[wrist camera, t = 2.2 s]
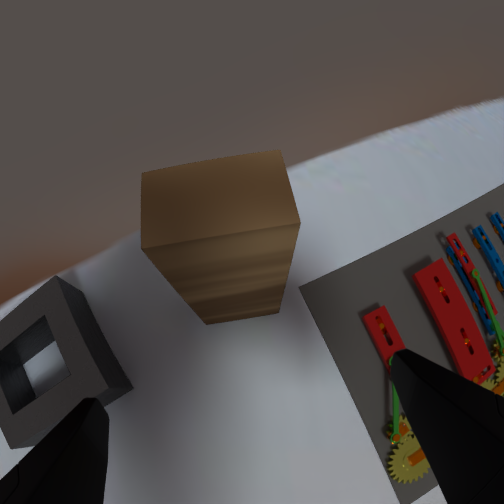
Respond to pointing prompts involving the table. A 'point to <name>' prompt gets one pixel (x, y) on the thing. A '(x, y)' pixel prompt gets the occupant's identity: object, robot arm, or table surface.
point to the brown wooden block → (222, 233)
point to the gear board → (417, 323)
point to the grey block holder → (73, 352)
